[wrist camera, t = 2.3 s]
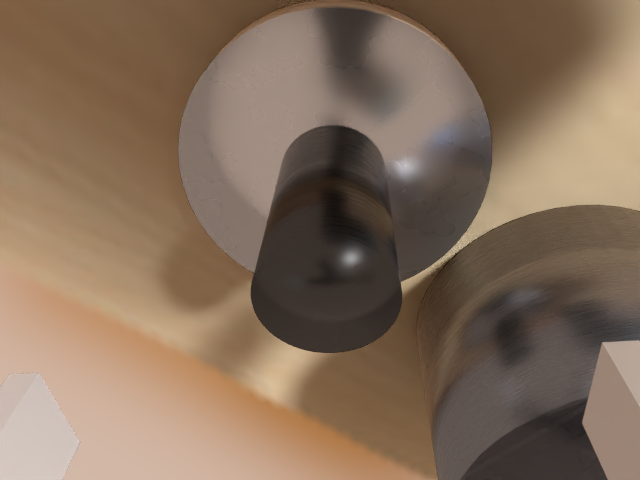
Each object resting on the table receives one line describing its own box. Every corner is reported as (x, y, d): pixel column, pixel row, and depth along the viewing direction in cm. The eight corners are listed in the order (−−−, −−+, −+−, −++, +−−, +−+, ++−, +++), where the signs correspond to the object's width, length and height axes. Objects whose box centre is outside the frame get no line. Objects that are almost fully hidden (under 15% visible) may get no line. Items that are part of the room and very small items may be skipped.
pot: (414, 217, 25) (447, 381, 16) (751, 192, 23) (975, 359, 15) (417, 417, 33) (440, 593, 25) (667, 408, 31) (781, 593, 23)
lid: (154, 18, 20) (21, 104, 12) (491, -22, 19) (600, 43, 11) (225, 277, 28) (172, 442, 19) (474, 261, 26) (532, 431, 18)
